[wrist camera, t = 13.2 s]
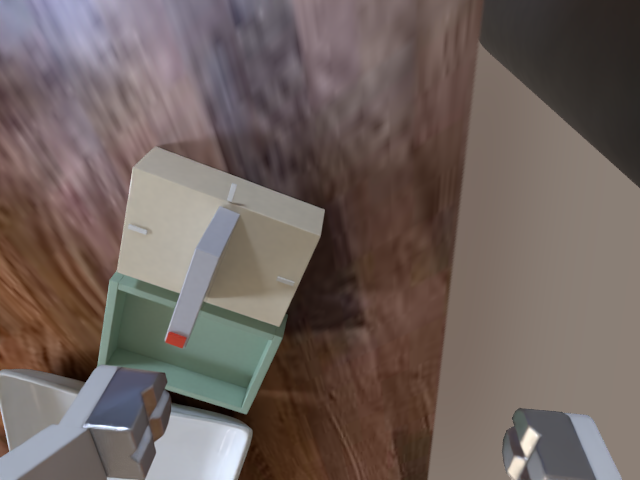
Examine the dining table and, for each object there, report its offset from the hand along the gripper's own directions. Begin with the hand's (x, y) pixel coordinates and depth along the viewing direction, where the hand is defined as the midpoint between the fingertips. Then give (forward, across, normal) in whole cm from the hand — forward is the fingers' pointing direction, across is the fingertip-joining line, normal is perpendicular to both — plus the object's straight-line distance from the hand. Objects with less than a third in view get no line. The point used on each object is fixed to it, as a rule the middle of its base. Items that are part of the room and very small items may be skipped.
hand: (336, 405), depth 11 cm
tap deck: (+25, +10, +11) cm, 29 cm away
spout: (+21, +10, +11) cm, 26 cm away
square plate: (+25, +24, +45) cm, 57 cm away
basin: (+25, +14, +24) cm, 37 cm away
